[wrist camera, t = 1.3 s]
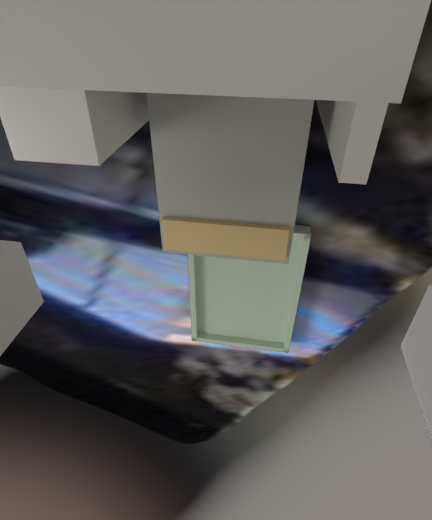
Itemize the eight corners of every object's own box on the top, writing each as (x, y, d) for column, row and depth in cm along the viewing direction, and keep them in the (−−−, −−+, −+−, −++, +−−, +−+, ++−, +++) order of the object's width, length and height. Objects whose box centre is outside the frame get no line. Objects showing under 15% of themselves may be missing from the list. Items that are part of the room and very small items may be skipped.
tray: (194, 331, 37) (192, 340, 36) (189, 215, 29) (185, 223, 28) (288, 343, 36) (288, 352, 35) (310, 226, 28) (311, 234, 27)
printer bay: (144, 80, 23) (-5, 171, 11) (129, -65, 19) (-132, -164, 7) (325, 87, 22) (372, 199, 10) (352, -68, 18) (488, -197, 6)
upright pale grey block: (204, 165, 26) (161, 255, 17) (201, -6, 20) (133, -6, 11) (287, 171, 25) (288, 268, 16) (311, -5, 19) (331, -4, 10)
